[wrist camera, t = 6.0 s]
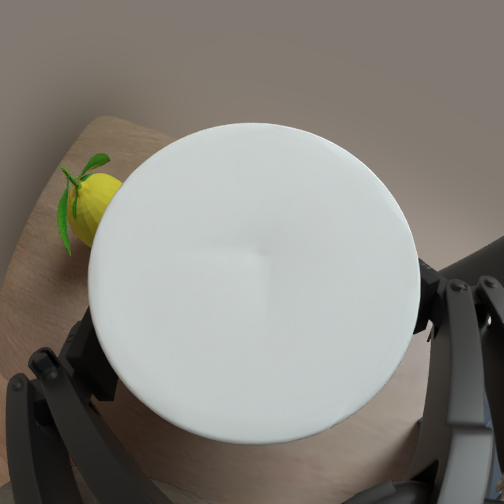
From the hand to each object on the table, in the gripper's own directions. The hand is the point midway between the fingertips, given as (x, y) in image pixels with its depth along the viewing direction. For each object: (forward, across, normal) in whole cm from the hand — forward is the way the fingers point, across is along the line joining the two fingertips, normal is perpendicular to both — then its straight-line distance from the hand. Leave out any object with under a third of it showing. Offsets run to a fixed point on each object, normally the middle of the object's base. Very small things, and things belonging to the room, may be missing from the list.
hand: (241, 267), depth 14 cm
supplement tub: (+4, 0, -6) cm, 7 cm away
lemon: (+10, -10, 0) cm, 14 cm away
